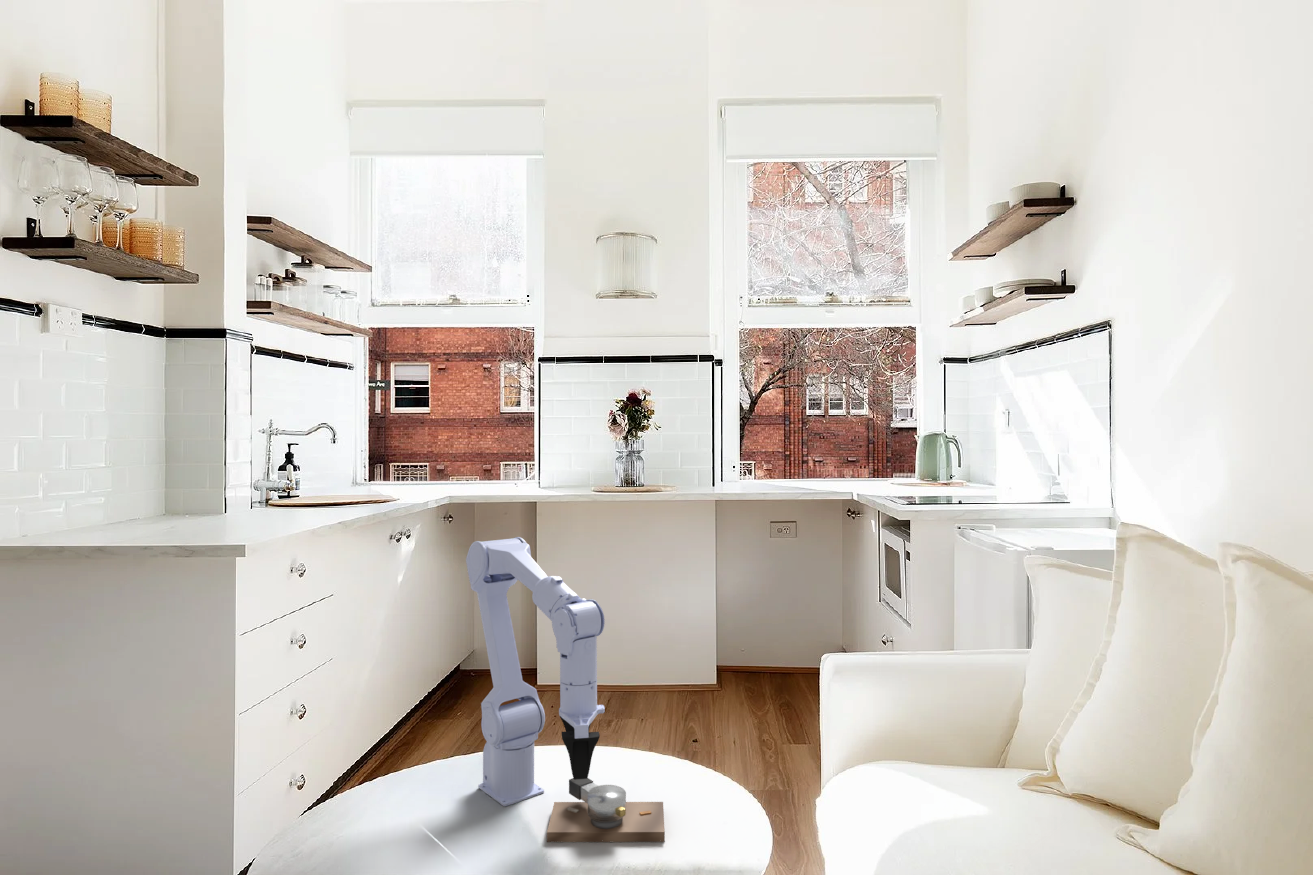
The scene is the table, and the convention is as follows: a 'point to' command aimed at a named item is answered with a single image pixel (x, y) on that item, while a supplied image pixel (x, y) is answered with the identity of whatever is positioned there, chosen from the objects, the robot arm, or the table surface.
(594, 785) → the silver saucepan
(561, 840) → the mounting board
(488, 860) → the table surface
